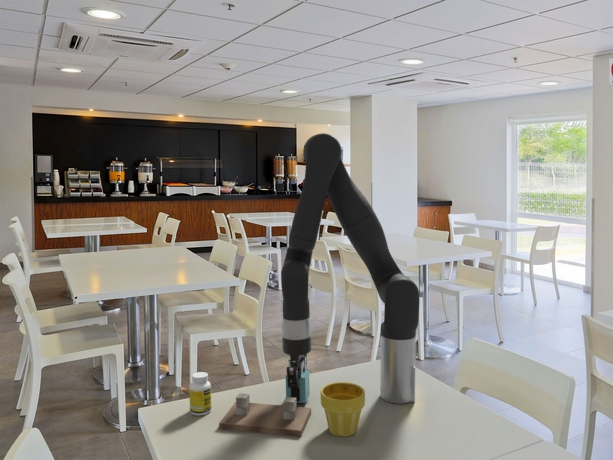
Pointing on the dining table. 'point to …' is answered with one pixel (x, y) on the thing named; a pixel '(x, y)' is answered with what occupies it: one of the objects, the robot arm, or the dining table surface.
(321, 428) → the dining table surface
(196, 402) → the supplement bottle
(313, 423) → the dining table surface
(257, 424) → the post board
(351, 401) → the plant pot
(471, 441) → the dining table surface
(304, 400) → the teal rectangular block
